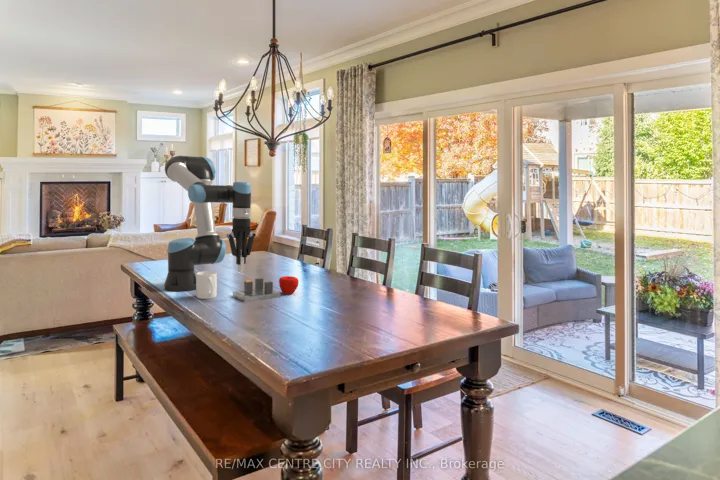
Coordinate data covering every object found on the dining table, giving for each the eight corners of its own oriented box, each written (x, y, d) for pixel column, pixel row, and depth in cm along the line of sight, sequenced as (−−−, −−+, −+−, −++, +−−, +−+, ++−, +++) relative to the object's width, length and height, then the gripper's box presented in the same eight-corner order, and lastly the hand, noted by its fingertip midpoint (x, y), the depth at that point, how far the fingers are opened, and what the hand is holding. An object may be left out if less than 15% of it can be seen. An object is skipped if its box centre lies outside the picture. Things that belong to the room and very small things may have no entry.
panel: (233, 296, 217) (233, 291, 217) (267, 292, 228) (267, 287, 228) (244, 301, 208) (244, 297, 208) (280, 297, 219) (280, 292, 218)
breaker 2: (264, 292, 216) (264, 281, 216) (270, 292, 218) (270, 281, 218) (266, 293, 215) (266, 282, 214) (272, 293, 217) (272, 282, 216)
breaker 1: (255, 289, 223) (255, 278, 223) (261, 288, 225) (261, 277, 225) (257, 290, 222) (257, 279, 221) (263, 289, 224) (263, 278, 223)
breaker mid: (244, 292, 215) (244, 280, 214) (250, 292, 217) (250, 280, 216) (246, 293, 214) (246, 281, 213) (252, 293, 215) (252, 281, 215)
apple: (301, 292, 229) (302, 276, 228) (291, 296, 221) (291, 279, 220) (285, 290, 233) (286, 274, 232) (275, 294, 225) (275, 277, 224)
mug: (201, 301, 206) (201, 276, 205) (193, 296, 216) (193, 272, 215) (221, 299, 211) (221, 275, 209) (213, 294, 220) (213, 270, 219)
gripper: (231, 218, 203) (231, 274, 205) (259, 218, 211) (258, 271, 214) (223, 217, 208) (223, 271, 211) (250, 216, 217) (250, 268, 220)
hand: (240, 271), depth 212 cm, fingers closed
